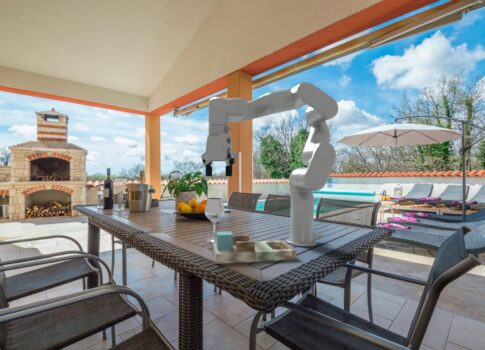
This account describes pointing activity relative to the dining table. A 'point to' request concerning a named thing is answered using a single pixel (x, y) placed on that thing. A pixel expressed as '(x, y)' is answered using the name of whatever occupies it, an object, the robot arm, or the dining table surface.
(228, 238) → the teal cube
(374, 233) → the dining table surface
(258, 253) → the board
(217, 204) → the wineglass
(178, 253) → the dining table surface
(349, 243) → the dining table surface
